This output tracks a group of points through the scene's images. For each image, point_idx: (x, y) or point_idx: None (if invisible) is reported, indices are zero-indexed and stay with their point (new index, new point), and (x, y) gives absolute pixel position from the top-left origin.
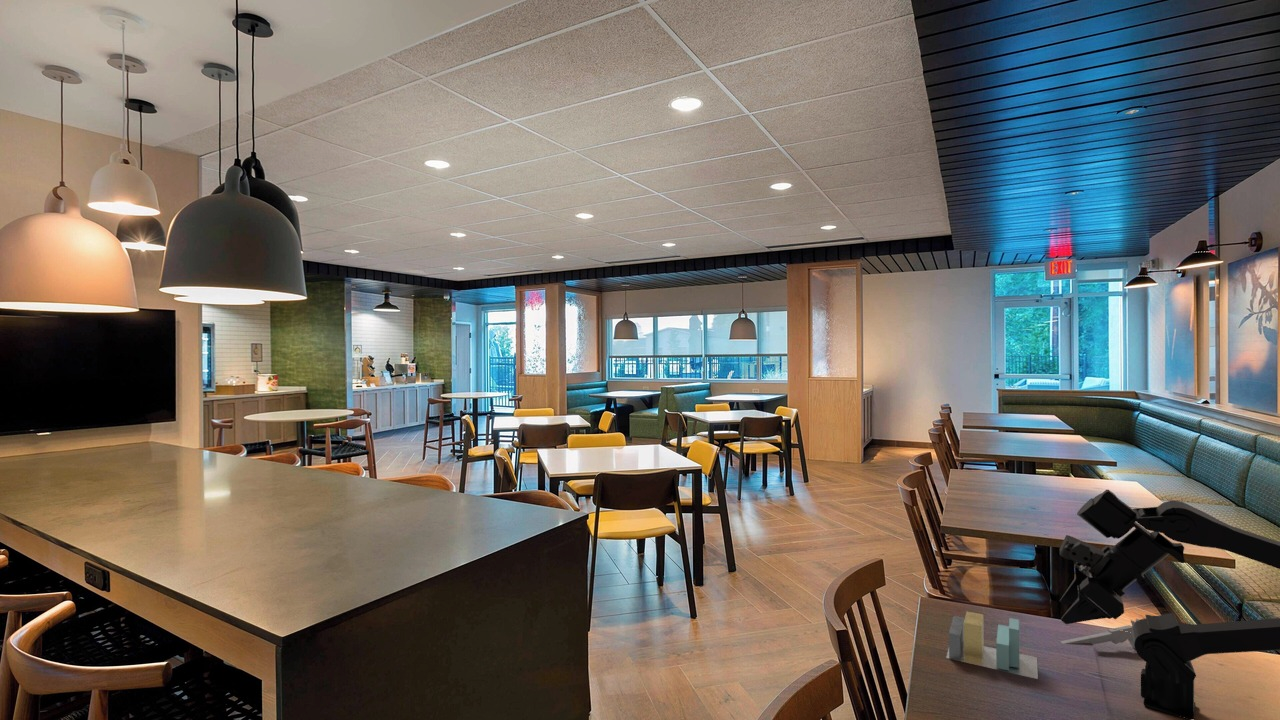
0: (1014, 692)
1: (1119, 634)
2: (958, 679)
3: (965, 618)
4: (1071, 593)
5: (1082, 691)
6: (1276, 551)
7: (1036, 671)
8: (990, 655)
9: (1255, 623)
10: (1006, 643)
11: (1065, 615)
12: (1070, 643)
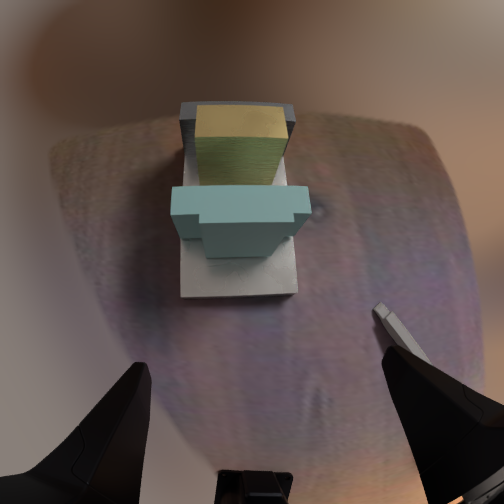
0: (137, 257)
1: None
2: (142, 167)
3: (230, 105)
4: (422, 397)
5: (218, 380)
6: None
7: (218, 293)
8: None
9: None
10: (182, 209)
11: (114, 384)
12: (405, 346)
